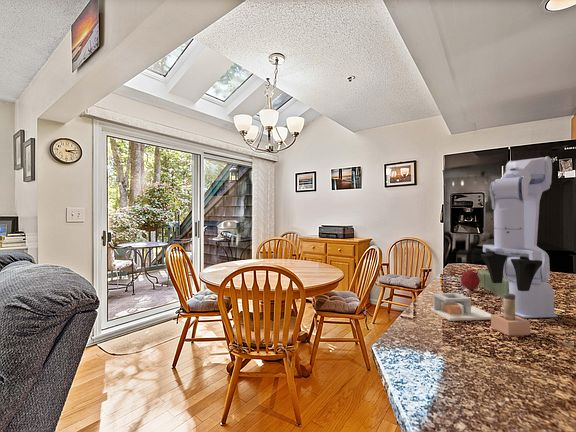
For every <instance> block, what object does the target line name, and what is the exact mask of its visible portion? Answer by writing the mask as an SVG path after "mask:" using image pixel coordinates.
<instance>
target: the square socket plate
mask: <svg viewBox="0 0 576 432" xmlns="http://www.w3.org/2000/svg"><path fill="white" fill-rule="evenodd" d="M450 303H454V304H456V305H458V306H460V314H449V313H447V312H445V311H444V304H450ZM471 304H472V300H471V298H470V297H468V296H466V295H463V294H461V293H458V292H447V293H444V292H441V293H440V292H439V293H433V307H430V308H429V309H430V311H432V312H433V313H435V314H437V315H439V316H440V317H442V318H444V319H446V320H448V321H449V322H450V321H451V322H453V321H481V320H484V321H485V320H491V315H493V314H492V313H490V312H487V311H485V310H483V309H481V308H479V307H476V306H473V305H471Z"/></svg>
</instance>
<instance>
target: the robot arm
mask: <svg viewBox="0 0 576 432" xmlns="http://www.w3.org/2000/svg"><path fill="white" fill-rule="evenodd" d="M552 175H553V164H552V158H551V157H550V156H545V157H537V158H527V159H519V160H509V161H508V162H507V163H506V165H505V173H504V174H503V175H502V176H501V177H500V178H497V179H494V181H491V183H490V184H489V185H490V186H489V195H490V196H489V197H490V200H491V201H490V202H491V209H492V210H493V237H494V239H493V240H494V241H493V243H494V244H483V245H482V252H483V254H482V253H481V254H480V257H481V259H482V260H483V263H484V264H485V266H486V268H487V271H489V274H490V277H491V280H492V283H502V280H503V277H505V278H507V280H509V294H514V295H515V316H518V317H520V318H523V319H533V318H534V319H537V318H538V319H539V318H557V317H558V315H557V314H555V292H554V289H553V287H552V286H551V284H550V283H548V281H549V280H550V272H551V270H550V268H551V267H550V257H549V255H548V253H547V252H546V250H543V249H542V248H540V247H539V246H538V244H537V243H538V230H539V217H540V216H539V215H540V202H541V201H540V200H541V198H542V194H543V192H545V191H548V190H549V189H551V188H550V187H551V185H552ZM500 308H501V309H500V310H503V306H501V307H500Z"/></svg>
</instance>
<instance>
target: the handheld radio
mask: <svg viewBox="0 0 576 432" xmlns="http://www.w3.org/2000/svg"><path fill="white" fill-rule="evenodd" d="M477 273H478V274H477V275H478V277H479V279H480V283H479V285H478V287H480V286H481V287H480V288H482V287H483V288H482V289H484V288H485V289H484V290H486V289H487V290H486V291H488V290H489V291H488V292H490V291H491V293H492V292H493V293H492V294H494V293H495V294H494V295H496V294H497V295H496V296H498V295H499V296H500V298H501V297H502V299H503V294H504V293H508V294H509V280H507V277H504V276H503V280H502V283H492V280H491V277H490V274H489V271H488V270H486V269H479V270H478V272H477ZM499 296H498V297H499Z"/></svg>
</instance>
